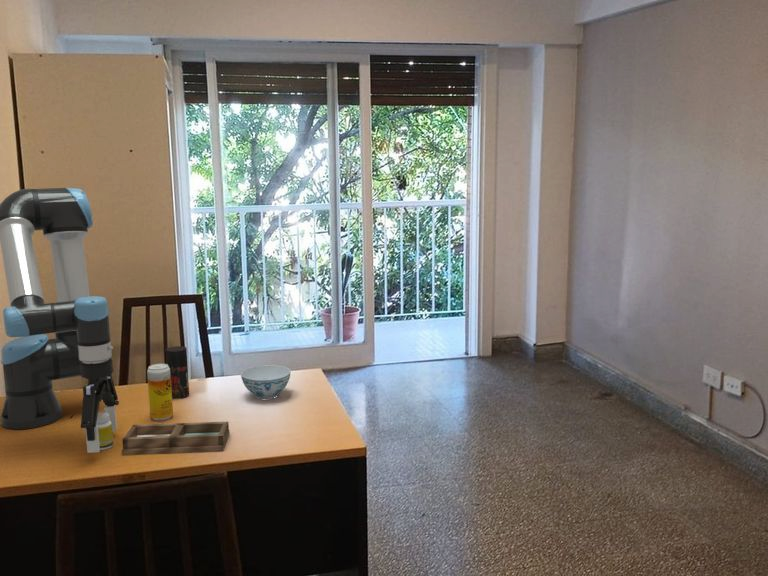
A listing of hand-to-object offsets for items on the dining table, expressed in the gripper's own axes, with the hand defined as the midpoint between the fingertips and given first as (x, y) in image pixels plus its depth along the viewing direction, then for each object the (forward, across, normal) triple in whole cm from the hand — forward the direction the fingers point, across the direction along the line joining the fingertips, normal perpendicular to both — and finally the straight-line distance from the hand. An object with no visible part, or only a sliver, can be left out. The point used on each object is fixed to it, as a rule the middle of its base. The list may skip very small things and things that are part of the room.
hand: (103, 440), depth 169 cm
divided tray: (+2, 0, -18) cm, 18 cm away
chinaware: (+2, +34, -38) cm, 51 cm away
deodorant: (+2, +37, -11) cm, 39 cm away
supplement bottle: (+2, 0, 0) cm, 2 cm away
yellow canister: (+2, +19, -10) cm, 22 cm away
